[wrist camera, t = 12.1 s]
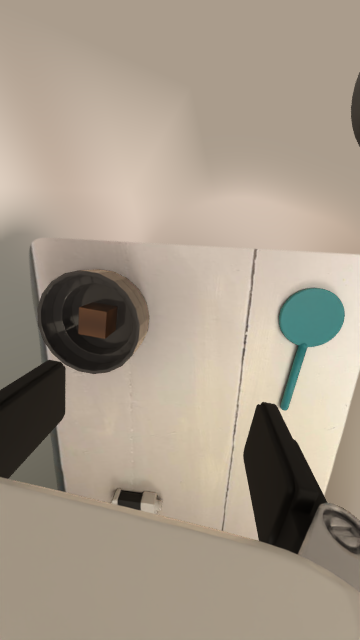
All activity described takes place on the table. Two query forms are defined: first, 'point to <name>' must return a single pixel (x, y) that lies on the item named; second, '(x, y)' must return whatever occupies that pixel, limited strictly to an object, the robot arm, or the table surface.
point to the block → (97, 320)
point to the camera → (138, 501)
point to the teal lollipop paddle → (308, 326)
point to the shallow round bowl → (63, 319)
